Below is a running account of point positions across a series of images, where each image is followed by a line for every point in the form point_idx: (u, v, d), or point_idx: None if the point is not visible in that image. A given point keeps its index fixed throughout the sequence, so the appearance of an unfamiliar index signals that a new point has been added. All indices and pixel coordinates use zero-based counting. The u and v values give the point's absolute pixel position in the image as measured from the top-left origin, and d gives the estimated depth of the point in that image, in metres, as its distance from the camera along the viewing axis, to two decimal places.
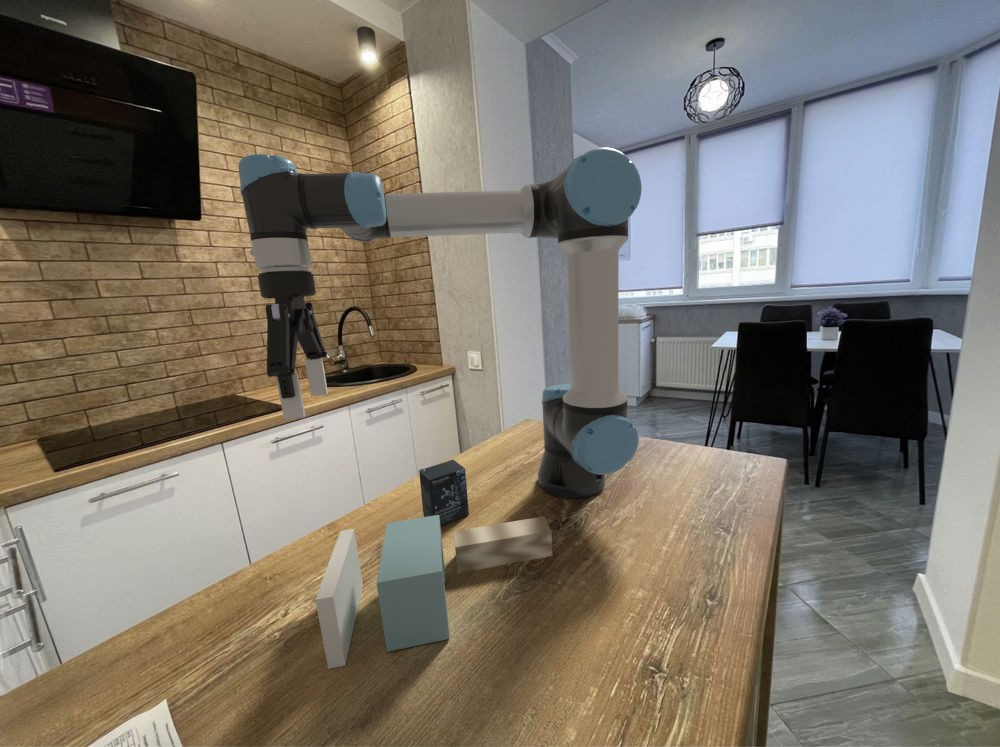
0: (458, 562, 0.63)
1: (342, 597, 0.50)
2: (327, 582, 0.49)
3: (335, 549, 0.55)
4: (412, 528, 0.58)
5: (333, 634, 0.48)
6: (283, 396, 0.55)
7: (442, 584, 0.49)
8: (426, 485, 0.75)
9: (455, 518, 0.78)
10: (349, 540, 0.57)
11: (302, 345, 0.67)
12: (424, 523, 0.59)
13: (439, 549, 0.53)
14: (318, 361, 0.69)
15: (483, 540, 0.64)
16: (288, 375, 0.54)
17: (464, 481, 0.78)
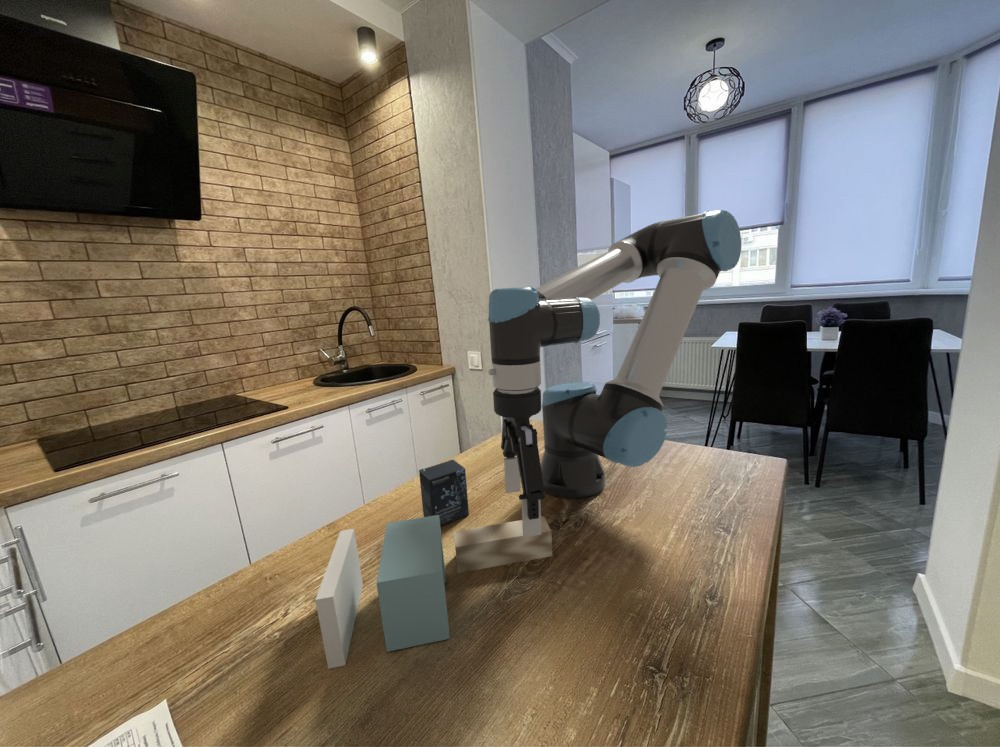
0: (458, 562, 0.63)
1: (342, 597, 0.50)
2: (327, 582, 0.49)
3: (335, 549, 0.55)
4: (412, 528, 0.58)
5: (333, 634, 0.48)
6: (531, 517, 0.57)
7: (442, 584, 0.49)
8: (426, 485, 0.75)
9: (455, 518, 0.78)
10: (349, 540, 0.57)
11: (507, 447, 0.69)
12: (424, 523, 0.59)
13: (439, 549, 0.53)
14: (516, 460, 0.71)
15: (482, 540, 0.64)
16: None
17: (464, 481, 0.78)
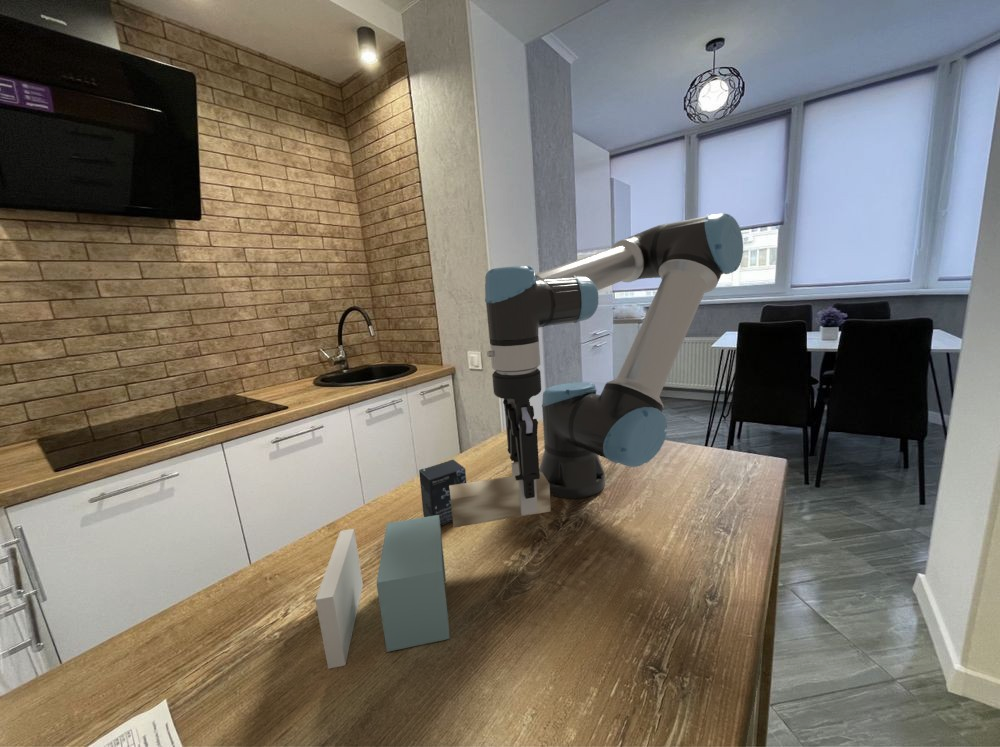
0: (454, 515, 0.61)
1: (342, 597, 0.50)
2: (327, 582, 0.49)
3: (335, 549, 0.55)
4: (412, 528, 0.58)
5: (333, 634, 0.48)
6: (527, 497, 0.61)
7: (442, 584, 0.49)
8: (426, 485, 0.75)
9: None
10: (349, 540, 0.57)
11: (513, 443, 0.66)
12: (424, 523, 0.59)
13: (439, 549, 0.53)
14: None
15: (479, 492, 0.62)
16: None
17: (464, 481, 0.78)
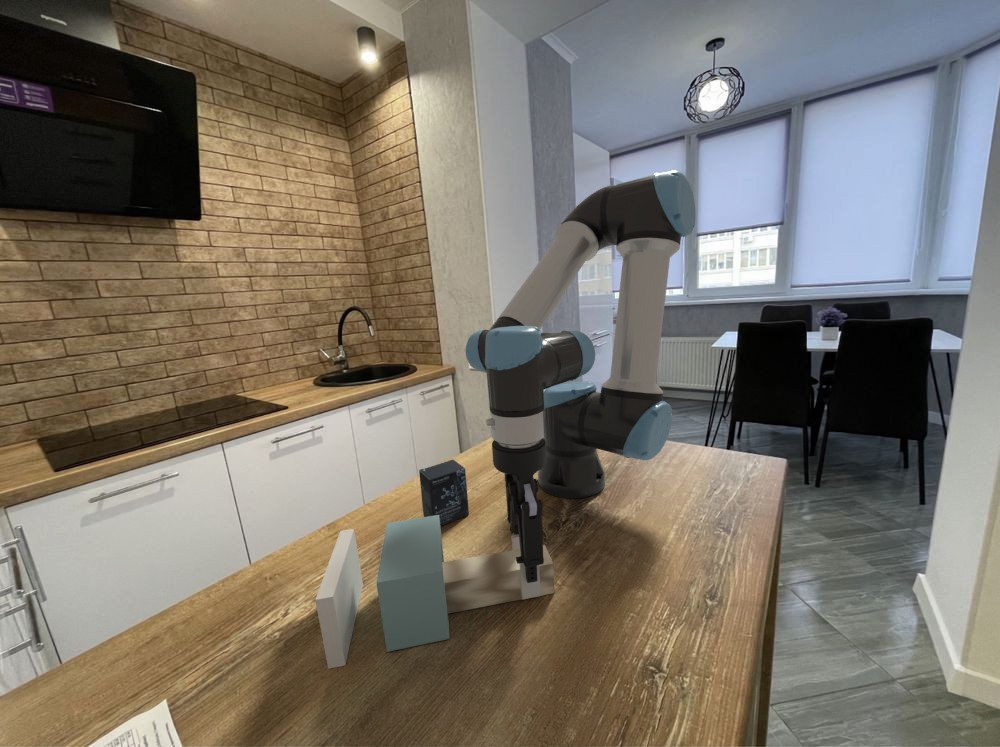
0: (446, 600, 0.55)
1: (342, 597, 0.50)
2: (327, 582, 0.49)
3: (335, 549, 0.55)
4: (412, 528, 0.58)
5: (333, 634, 0.48)
6: (529, 581, 0.55)
7: (442, 584, 0.49)
8: (426, 485, 0.75)
9: (455, 518, 0.78)
10: (349, 540, 0.57)
11: (513, 515, 0.59)
12: (424, 523, 0.59)
13: (439, 549, 0.53)
14: None
15: (475, 574, 0.55)
16: None
17: (464, 481, 0.78)
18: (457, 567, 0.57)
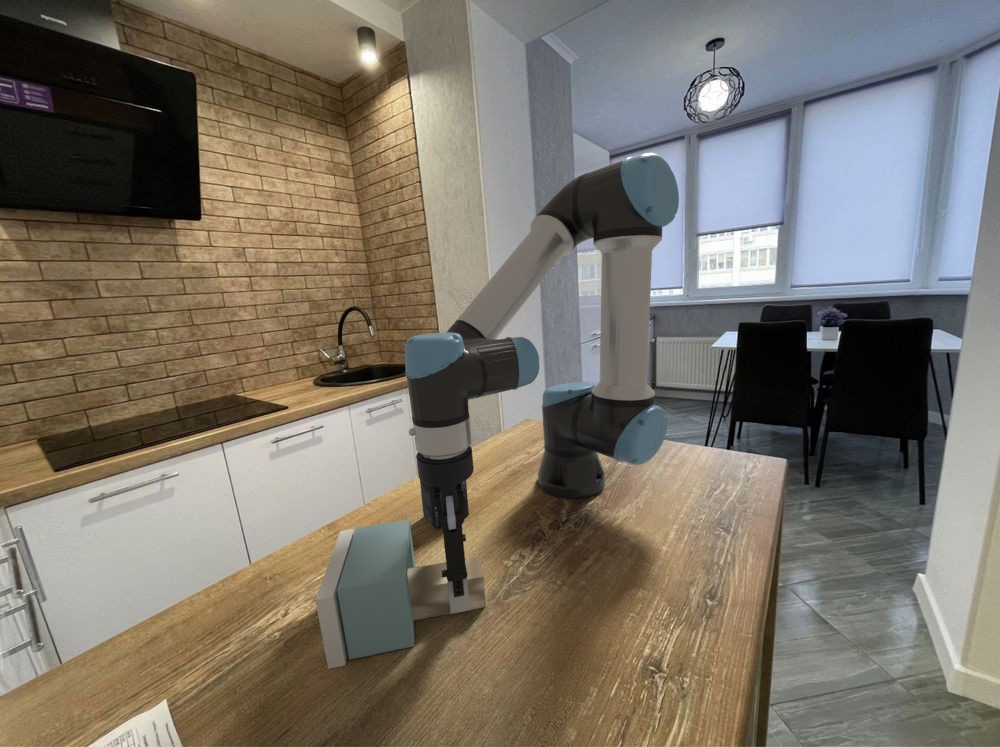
0: None
1: None
2: (327, 582, 0.49)
3: (335, 549, 0.55)
4: (381, 534, 0.58)
5: (333, 634, 0.48)
6: (455, 595, 0.53)
7: (405, 591, 0.49)
8: (426, 485, 0.75)
9: None
10: (349, 540, 0.57)
11: None
12: (393, 528, 0.59)
13: (405, 555, 0.53)
14: None
15: None
16: None
17: (464, 481, 0.78)
18: None
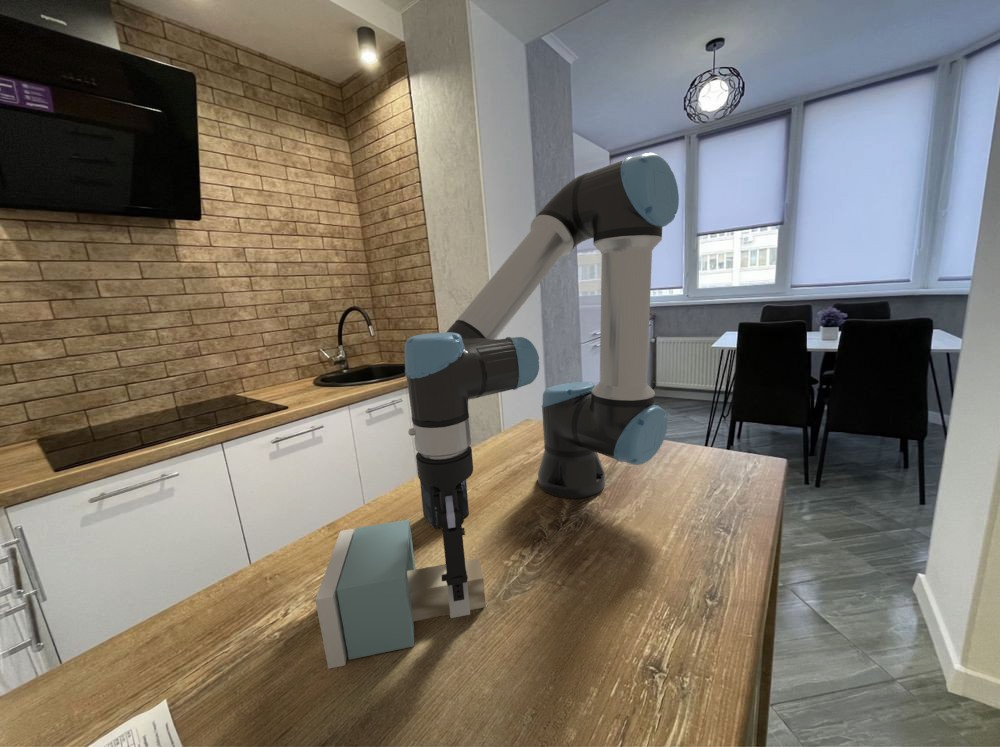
0: None
1: None
2: (327, 582, 0.49)
3: (335, 549, 0.55)
4: (380, 534, 0.58)
5: (333, 634, 0.48)
6: (455, 599, 0.52)
7: (405, 591, 0.49)
8: (426, 485, 0.75)
9: None
10: (349, 540, 0.57)
11: None
12: (393, 528, 0.59)
13: (404, 555, 0.52)
14: None
15: None
16: None
17: (464, 481, 0.78)
18: None
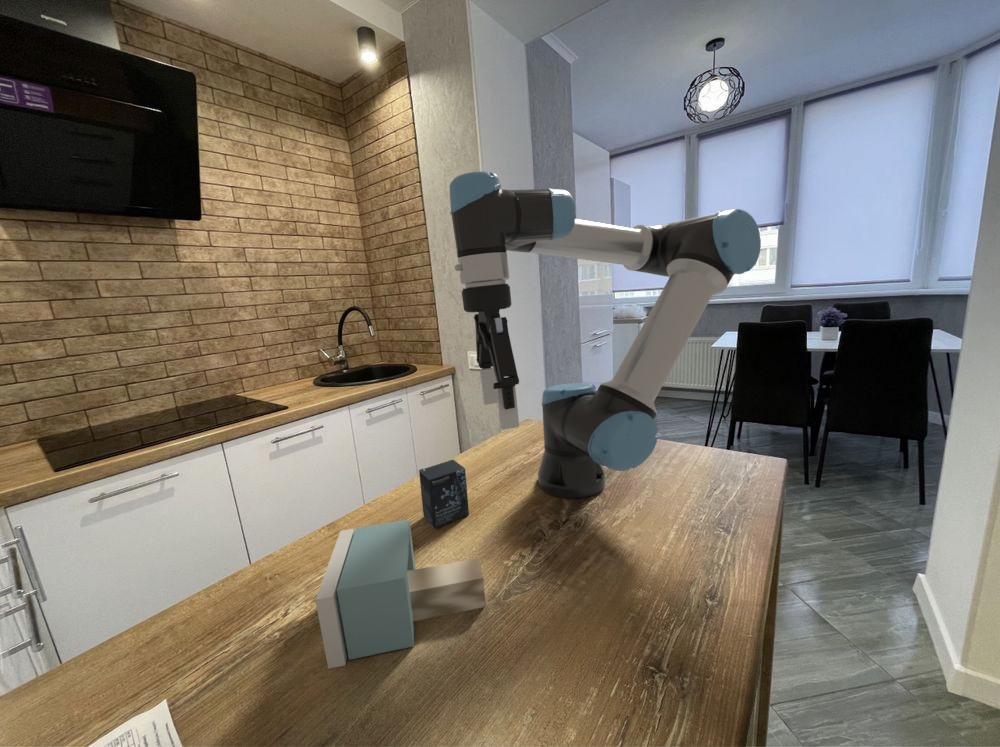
0: None
1: None
2: (327, 582, 0.49)
3: (335, 549, 0.55)
4: (380, 534, 0.58)
5: (333, 634, 0.48)
6: (506, 407, 0.56)
7: (405, 591, 0.49)
8: (426, 485, 0.75)
9: (455, 518, 0.78)
10: (349, 540, 0.57)
11: (482, 355, 0.68)
12: (393, 528, 0.59)
13: (404, 555, 0.52)
14: (492, 370, 0.70)
15: None
16: (512, 386, 0.56)
17: (464, 481, 0.78)
18: None
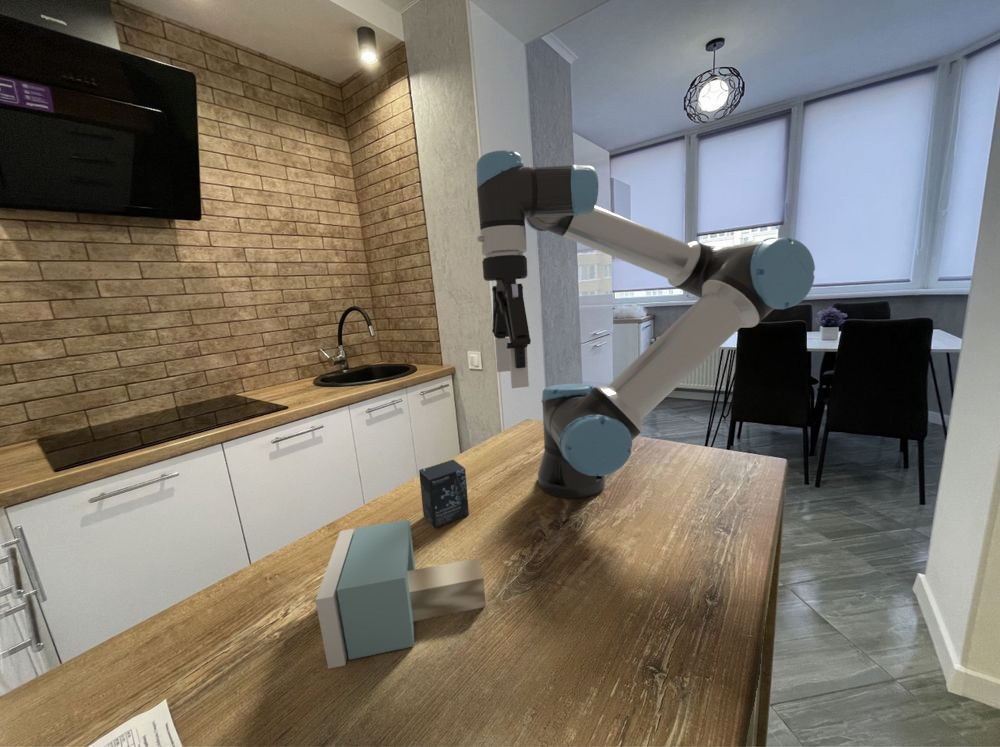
0: None
1: None
2: (327, 582, 0.49)
3: (335, 549, 0.55)
4: (380, 534, 0.58)
5: (333, 634, 0.48)
6: (518, 366, 0.62)
7: (405, 591, 0.49)
8: (426, 485, 0.75)
9: (455, 518, 0.78)
10: (349, 540, 0.57)
11: (497, 324, 0.73)
12: (393, 528, 0.59)
13: (404, 555, 0.52)
14: (506, 339, 0.75)
15: None
16: (524, 347, 0.61)
17: (464, 481, 0.78)
18: None
